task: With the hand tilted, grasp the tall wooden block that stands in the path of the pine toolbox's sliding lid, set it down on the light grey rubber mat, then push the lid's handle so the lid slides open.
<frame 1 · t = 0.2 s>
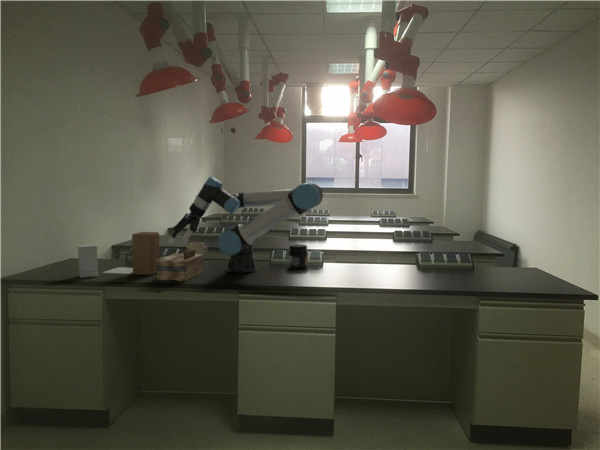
hand: (177, 241, 225), 16 cm above the worktop, tool tilted 35°, fingers open, 13 cm apart
toolbox: (180, 276, 218), on the worktop
wooden block: (146, 273, 224), on the worktop
supplement container: (297, 268, 243), on the worktop
skincare box: (88, 276, 216), on the worktop
character mug: (197, 267, 241), on the worktop
lid: (180, 255, 217), point 10 cm above the worktop, slide at 0.0 cm
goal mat: (123, 271, 229), on the worktop
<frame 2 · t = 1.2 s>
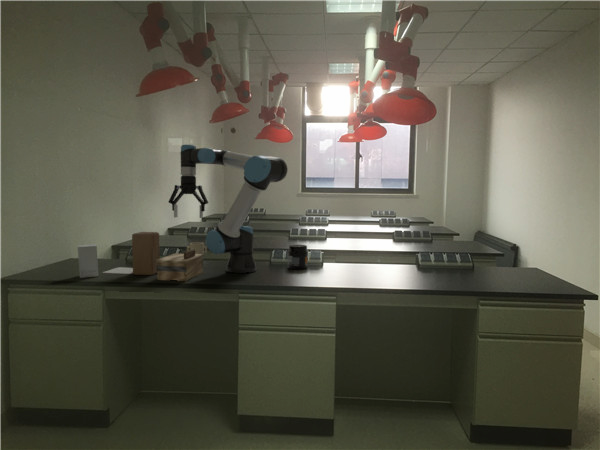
hand: (188, 217, 233), 27 cm above the worktop, tool pointing down, fingers open, 13 cm apart
nothing on the worktop moved.
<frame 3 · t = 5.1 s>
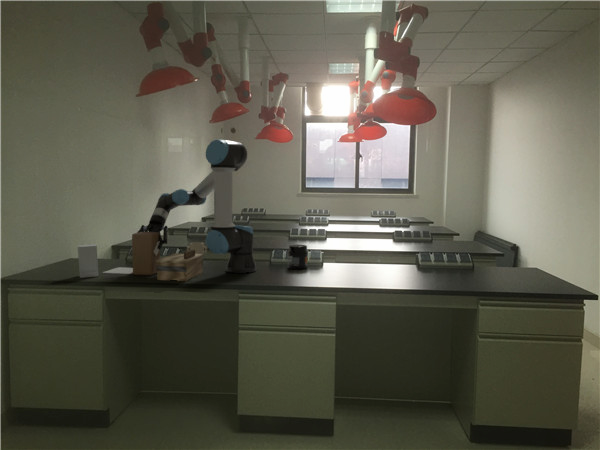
hand: (144, 253, 221), 10 cm above the worktop, tool tilted 45°, fingers closed on wooden block, 10 cm apart
wooden block: (146, 273, 224), on the worktop, touching gripper
everything else where it was.
when the fingers open (11 cm above the worktop, at t = 10.9 s): wooden block stays where it is, resting on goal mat.
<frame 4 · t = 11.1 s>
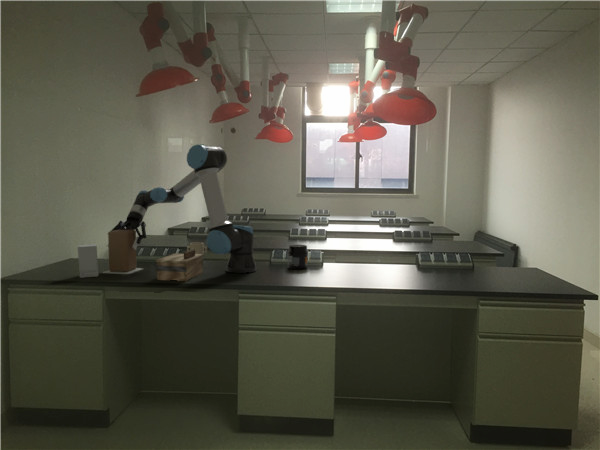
hand: (121, 247, 227), 12 cm above the worktop, tool tilted 45°, fingers open, 13 cm apart
wooden block: (123, 270, 229), resting on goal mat
everything else where it was.
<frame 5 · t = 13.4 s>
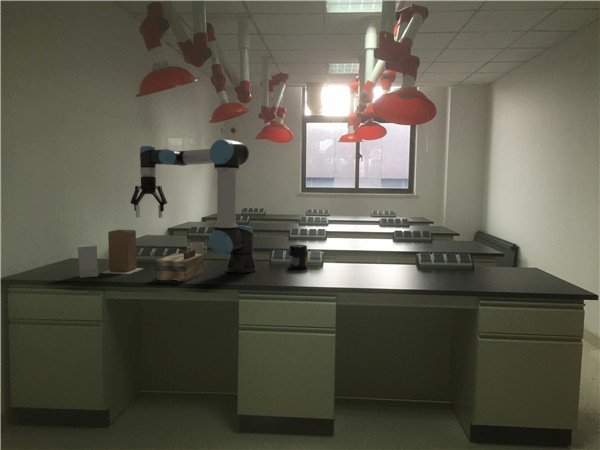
hand: (149, 217, 240), 26 cm above the worktop, tool pointing down, fingers open, 12 cm apart
nothing on the worktop moved.
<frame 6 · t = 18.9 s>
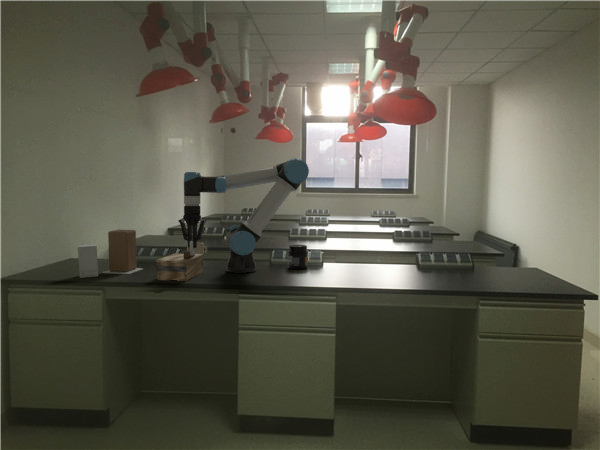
hand: (192, 254, 216), 10 cm above the worktop, tool pointing down, fingers closed
lid: (180, 255, 217), point 10 cm above the worktop, slide at 0.1 cm, touching gripper
everything else where it was.
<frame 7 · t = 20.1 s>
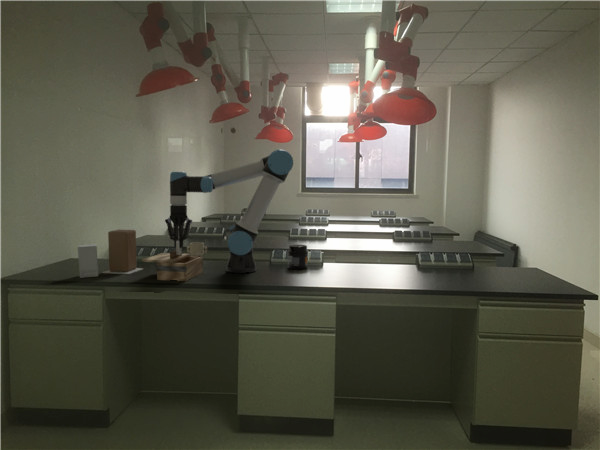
hand: (178, 254, 217), 10 cm above the worktop, tool pointing down, fingers closed
lid: (167, 254, 218), point 10 cm above the worktop, slide at 6.8 cm, touching gripper
everything else where it was.
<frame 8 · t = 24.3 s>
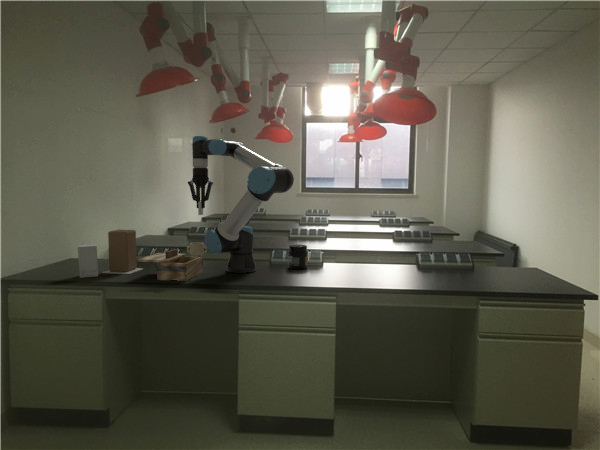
hand: (200, 214, 231), 28 cm above the worktop, tool pointing down, fingers closed
lid: (162, 254, 219), point 10 cm above the worktop, slide at 9.0 cm
everything else where it was.
at the end: wooden block inside the target area on the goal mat (0.2 cm from its centre), point 0.2 cm above the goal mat's base; wooden block tilted 0°; lid slide at 9.0 cm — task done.
